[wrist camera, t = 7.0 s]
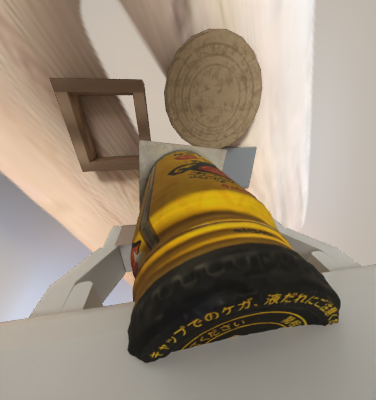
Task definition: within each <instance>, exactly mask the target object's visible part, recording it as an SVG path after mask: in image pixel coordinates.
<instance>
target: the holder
mask: <svg viewBox="0 0 376 400" xmlns="http://www.w3.org/2000/svg"><path fill="white" fill-rule="evenodd" d="M50 81H51V84H52V87H53V89H54V92H55V95H56V98H57V101H58V104H59V106H60V109H61V112H62V115H63V118H64V120H65V123H66V126H67V129H68V132H69V134H70V137H71V140H72V143H73V146H74V149H75V151H76V154H77V157H78V160H79V163H80V165H81V168H82V171H83V172H89V171H107V170H125V169H139V156H118V157H97V156H96V153H95V149H94V146H93V142H92V139H91V136H90V132H89V129H88V125H87V122H86V119H85V115H84V112H83V108H82V105H81V102H80V98H79V95H133V98H134V105H135V111H136V118H137V124H138V131H139V138H140V140H143V141H151V138H150V129H149V121H148V113H147V104H146V96H145V87H144V83H143V81H142V80H136V79H135V80H134V79H133V80H132V79H85V78H50Z"/></svg>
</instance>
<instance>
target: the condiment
mask: <svg viewBox="0 0 376 400" xmlns="http://www.w3.org/2000/svg"><path fill="white" fill-rule="evenodd" d="M226 153H227V150H222V149H214V148H205V147H197V146H188V145H179V144H170V143H159V142H152V141H143V140H139V175H140V177H139V178H140V181H139V182H140V191H139V192H140V213H139V217H138V220H137V225H136V229H135V232H134V236H133V239H132V244H131V245H132V249H131V257H130V260H131V267H132V271H133V275H134V277H135V282H134V286H133V302H135V305H134V307H133V310H132V313H131V321H130V324H129V327H128V331H127V332H128V339H129V343H128V349H127V350H128V352H129V354H130V355H132V356H135V357H136V358H138V359H139V360H141V361H143V362H145V363H149V362H154V361H156V360H158V359H160V358H165V357H166V356H168V355H169V354H170V353H171V352H175V351H179V350H184V349H188V348H192V347H194V346H199V345H202V344H207V343H212V342H215V341H221V340H224V339H227V338H231V337H234V336H244V335H249V334H254V333H260V332H265V331H269V330H276V329H279V328H284V327H296V326H299V325H301V326H303V325H322V326H326V325H331V324H332V323H338V321H339V310H340V307H341V301H340V298H339V296H338V294H337V293H336V292H335V291H334V290H333V288H332V287H331V286H330V285H329V283H328V282H327V281H326V279H325V277H324V275H323V274H321V273H320V272H319V271H318V270H317V269H316V268H315V266H314V265H312V264H311V263H309V262H307V261H306V260H305V259H304V258H303V257H302V256H301V255H300V254H299V253H297V252H296V251H294V250H293V249H292V247H291V246H290V244H289V242H288V241H287V239H286V238H285V237H284V236H283V235H282V234H281V232H279V231H278V229H277V227H276V224H275V222H274V220H273V218H272V216H271V214H270V212H269V211H268V210H267V209H266V207H265V206H264V205H263V203H261V202H260V201H258V200H257V199H256V197H254V196H253V195H252V194H251V193H249V192H248V191H246V190H245V189H243V188H242V187H241V186H240V185H238V184H237V183H236V182H234V181H233V180H232V179H231V178H229V177H228V176H227V175H226V174H225V173H223V172H222V170H223V166H224V161H225V156H226Z"/></svg>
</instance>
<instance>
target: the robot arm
mask: <svg viewBox="0 0 376 400" xmlns="http://www.w3.org/2000/svg"><path fill="white" fill-rule="evenodd" d="M272 218H273V217H272ZM273 220H274V222H275V224H276V227H277V229H278V231H279V232H281V234H282V235H283V236H284V237H285V238H286V239H287V241H288V242H289V244H290V246H291V247H292V249H293V250H294V251H296V252H297V253H299V254H300V255H301V256H302V257H303V258H304V259H305V260H306V261H307V262H309V263H311V264H312V265H314V266H315V268H316V269H317V270H318V271H319V272H320V273H321V274H323V275H324V277H325V279H326V281H327V282H328V283H329V285H330V286H331V287H332V288H333V290H334V291H335V292H336V293H337V294H338V296H339V298H340V301H341V307H340V310H339V321H338V323H332V324H331V325H326V326H322V325H303V326H301V325H299V326H296V327H284V328H279V329H276V330H269V331H265V332H260V333H254V334H249V335H244V336H234V337H231V338H227V339H224V340H221V341H215V342H212V343H207V344H202V345H199V346H194V347H192V348H188V349H184V350H179V351H175V352H171V353H170V354H169V355H168V356H166V357H165V358H160V359H158V360H156V361H154V362H149V363H145V362H143V361H141V360H139V359H138V358H136V357H135V356H132V355H130V354H129V352H128V350H127V349H128V343H129V339H128V332H127V331H128V327H129V324H130V321H131V313H132V310H133V307H134V305H135V302H129V303H122V304H116V305H110V306H103V305H102V303H103V302H104V300H105V299H106V298H107V296H108V295H109V294H110V293H111V291H112V290H113V289H114V287H115V286H116V285H117V283H118V282H119V281H120V280H121V278H122V277H123V276H124V275H125V272H130V271H132V267H131V260H130V257H131V249H132V245H131V244H132V239H133V236H134V232H135V229H136V225H124V226H114V227H112V229H111V231H110V233H109V235H108V238H107V240H106V242H105V244H104V246H103V248H99V249H98V250H97V251H95V252H94V253H93V254H91V255H90V256H89V257H87V258H86V259H85V260H83V261H82V262H81V263H79V264H78V265H77V266H75V267H74V268H73V269H71V270H70V271H69V272H67V273H66V274H65V275H63V276H62V277H61V278H60V279H58V280H57V281H55V282H54V283H53V284H51V285H50V286H49V288H48V289H47V291H46V293H45V294H44V295H43V297H42V298H41V300H40V301H39V303H38V304H37V306H36V307H35V309H34V310H33V312H32V314H31V315H30V316H29V318H26V319H19V320H13V321H6V322H1V323H0V400H376V264H374V265H368V266H361V265H359V264H358V263H357V262H355V261H354V260H353V259H351V258H350V257H349V256H347V255H346V254H345V253H343V252H342V251H341V250H339V249H338V248H336V247H334V246H331V245H328V244H326V243H323V242H321V241H319V240H316V239H314V238H311V237H309V236H306V235H304V234H301V233H299V232H296V231H294V230H291V229H289V228H284V227H283V226H282V225H281V224H280V223H279V222H278V221H276V220H275V219H274V218H273Z"/></svg>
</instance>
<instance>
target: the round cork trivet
mask: <svg viewBox="0 0 376 400" xmlns="http://www.w3.org/2000/svg"><path fill="white" fill-rule="evenodd" d="M261 92H262V79H261V69H260V66H259V63H258V61H257V58H256V55H255V53H254V51H253V50H252V48H251V47H250V46H249V45H248V44H247V42H246V41H245V40H244V39H243V37H241V36H239V35H237V34H235V33H233V32H231V31H229V30H227V29H207V30H205V31H203V32H201V33H198V34H196V35H194V36H192V37H191V38H190V39H189V40H188V41H187V42H186V43H185V44H184V45H183V46H182V47H181V48H180V49H179V50H178V51H177V53H176V55H175V57H174V59H173V61H172V63H171V65H170V67H169V69H168V74H167V80H166V85H165V91H164V96H165V107H166V112H167V114H168V117H169V120H170V122H171V125H172V126H173V128H174V129H175V130H176V132H177V133H178V134H179V135H180V136H181V138H182V139H184V140H185V141H187V142H188V143H190V144H191V145H192V146H197V147H205V148H214V149H220V148H223V147H225V146H228V145H230V144H232V143H233V142H235V141H236V140H237V139H238V138H240V137H241V136H242V135H243V134H244V133H245V131H246V130H247V129H248V127H249V126H250V125H251V123H252V122H253V120H254V117H255V115H256V113H257V110H258V108H259V105H260V98H261Z"/></svg>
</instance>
